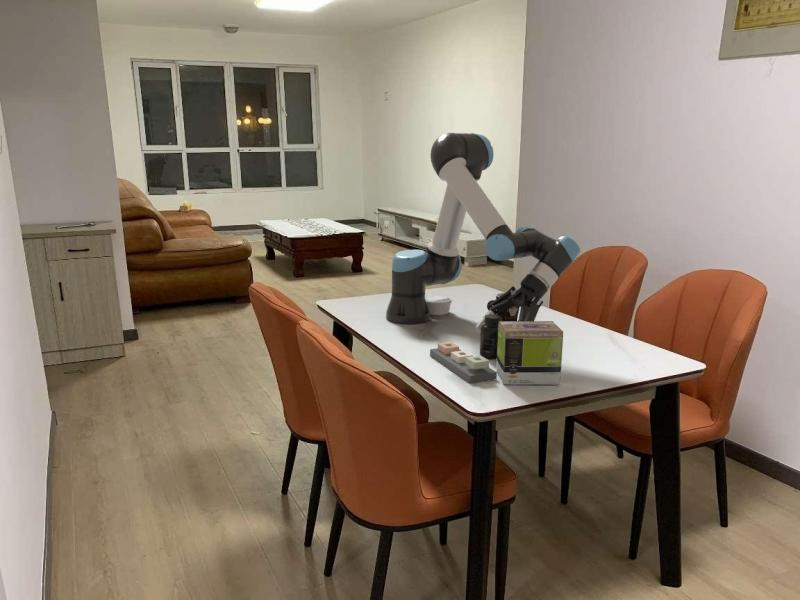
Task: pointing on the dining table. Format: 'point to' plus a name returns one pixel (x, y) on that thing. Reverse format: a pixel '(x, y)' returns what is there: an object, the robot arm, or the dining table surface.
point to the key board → (463, 368)
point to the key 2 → (477, 362)
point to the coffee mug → (507, 311)
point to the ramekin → (438, 304)
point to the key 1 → (448, 347)
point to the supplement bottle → (489, 336)
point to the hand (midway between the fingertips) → (490, 336)
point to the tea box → (529, 352)
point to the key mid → (460, 356)
